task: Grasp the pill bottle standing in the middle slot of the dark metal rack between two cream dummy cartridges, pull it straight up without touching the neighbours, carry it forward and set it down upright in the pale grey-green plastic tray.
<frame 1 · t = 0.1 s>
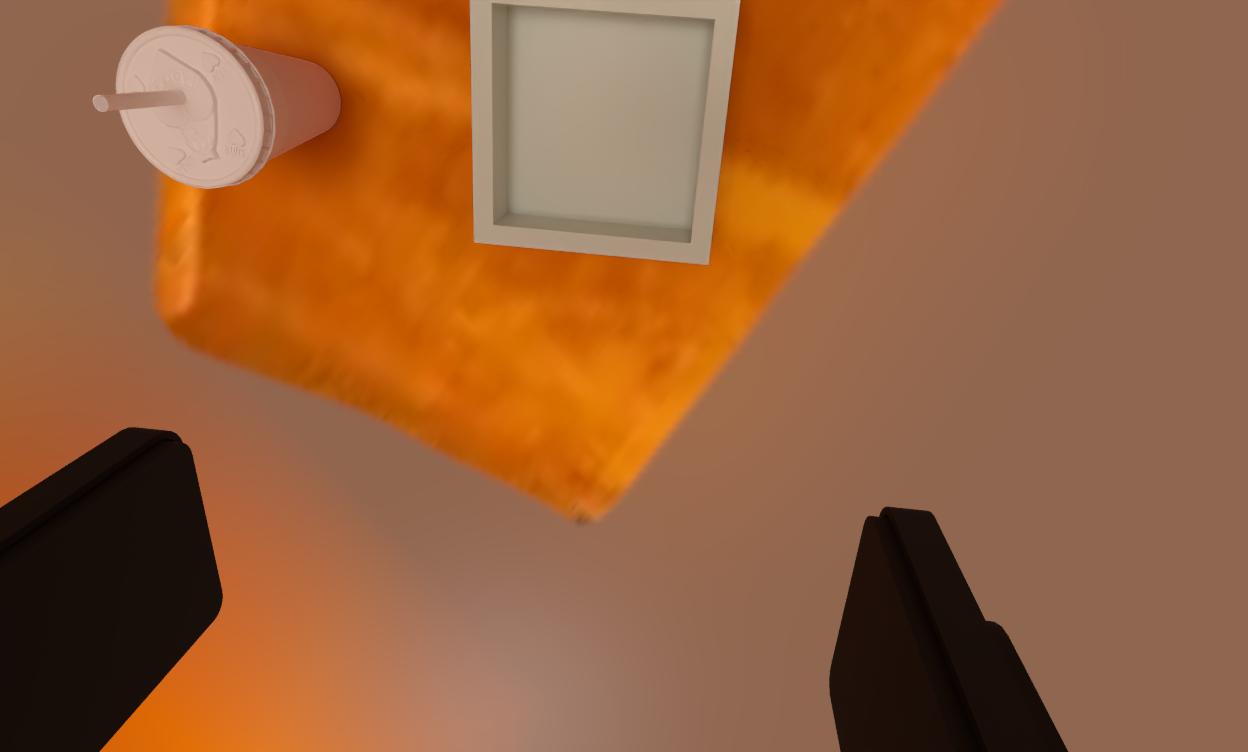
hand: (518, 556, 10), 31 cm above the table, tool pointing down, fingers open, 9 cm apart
smoothie: (309, 97, 39), on the table
tray: (605, 122, 37), on the table
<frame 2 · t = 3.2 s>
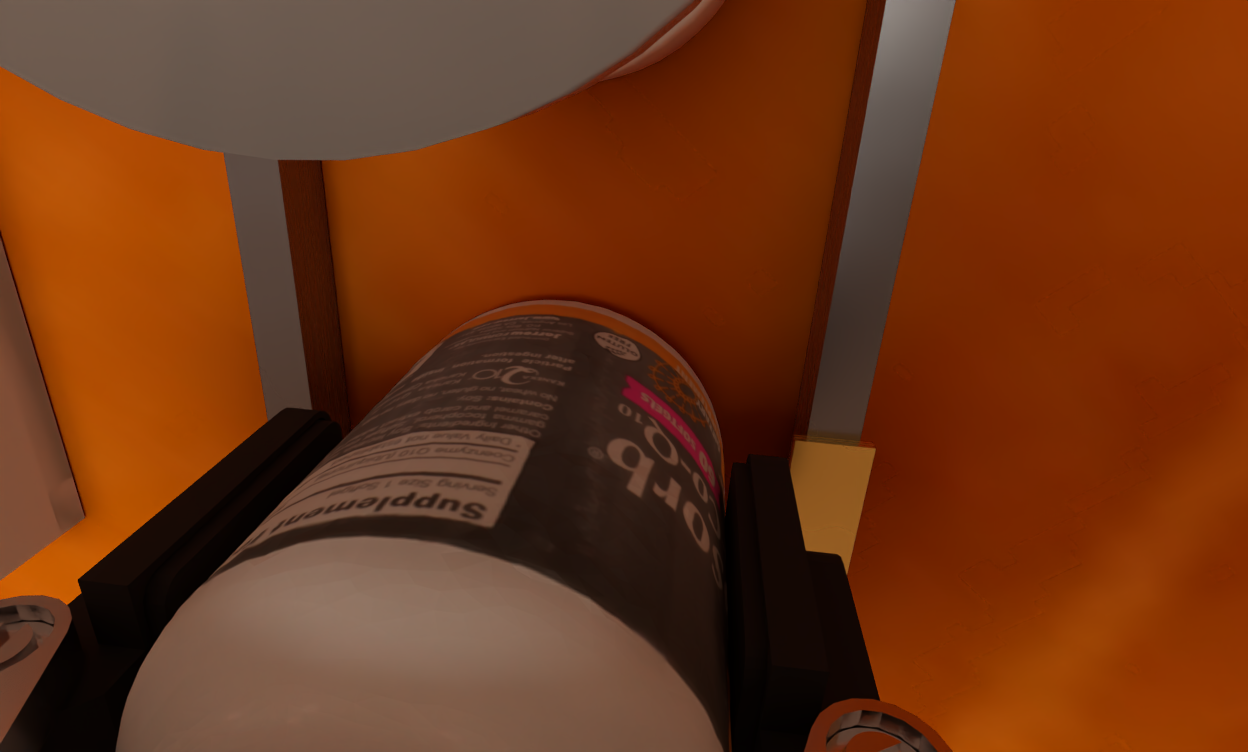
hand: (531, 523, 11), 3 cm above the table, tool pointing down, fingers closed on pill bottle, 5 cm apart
pill bottle: (565, 434, 13), resting in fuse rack, touching gripper
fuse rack: (563, 439, 13), on the table
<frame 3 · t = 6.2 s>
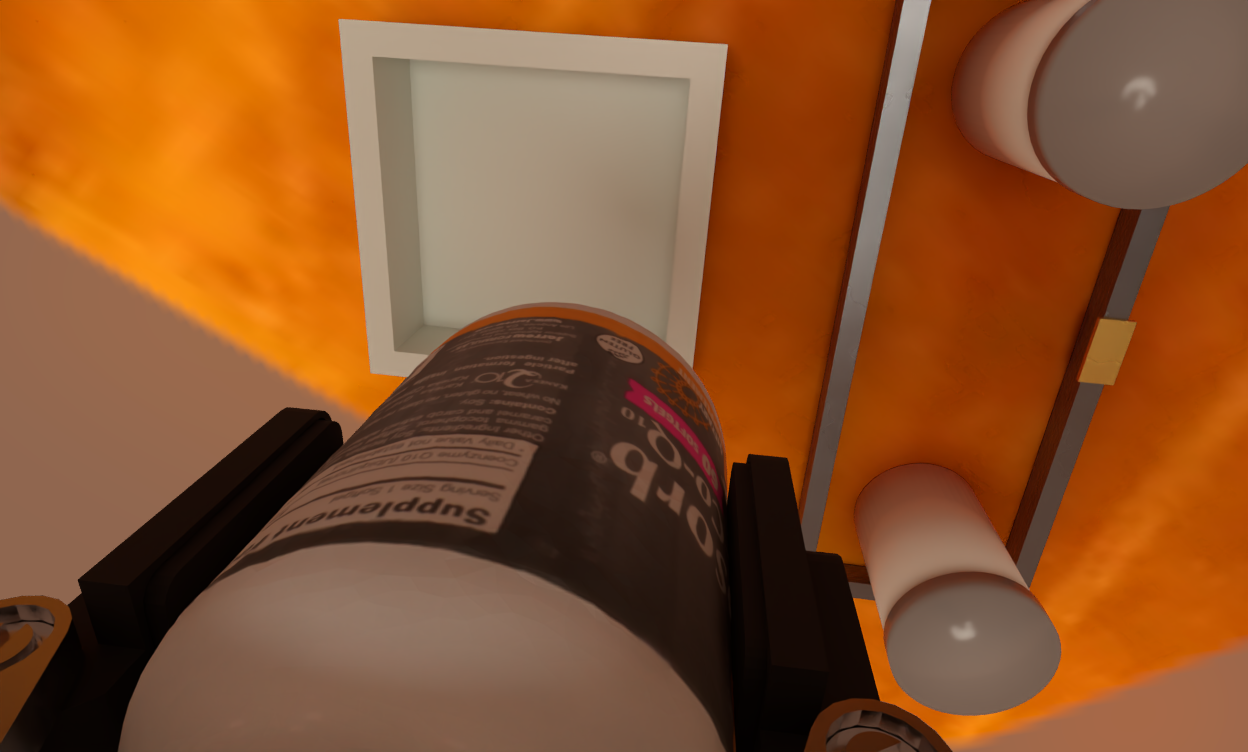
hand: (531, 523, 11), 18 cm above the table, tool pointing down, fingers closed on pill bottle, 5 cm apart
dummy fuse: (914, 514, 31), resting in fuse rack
pill bottle: (566, 436, 13), point 16 cm above the table, touching gripper
tray: (550, 209, 27), on the table
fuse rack: (966, 326, 27), on the table
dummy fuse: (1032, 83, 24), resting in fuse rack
when the fingers open (5 cm above the table, at t = 9.4 s): pill bottle drops 1 cm, resting on tray.
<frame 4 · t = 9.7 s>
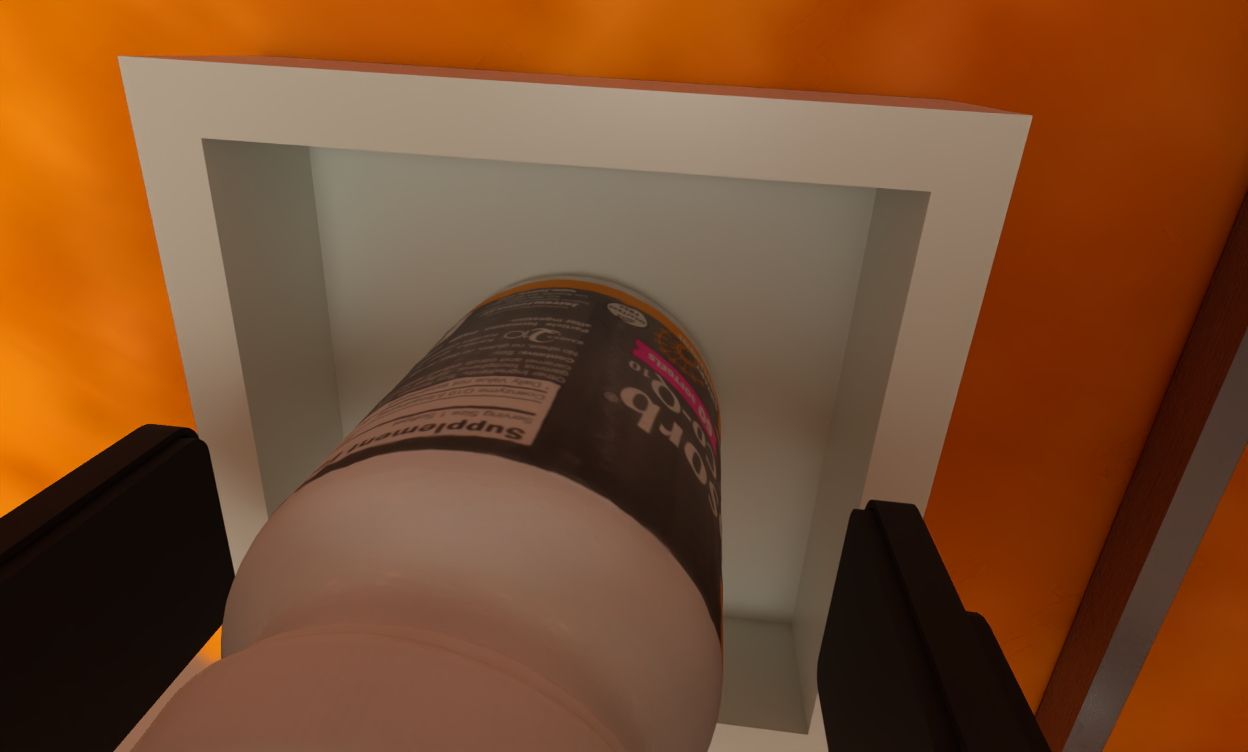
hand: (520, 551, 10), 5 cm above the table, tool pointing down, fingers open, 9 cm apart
pill bottle: (577, 399, 15), resting on tray
tray: (581, 389, 15), on the table
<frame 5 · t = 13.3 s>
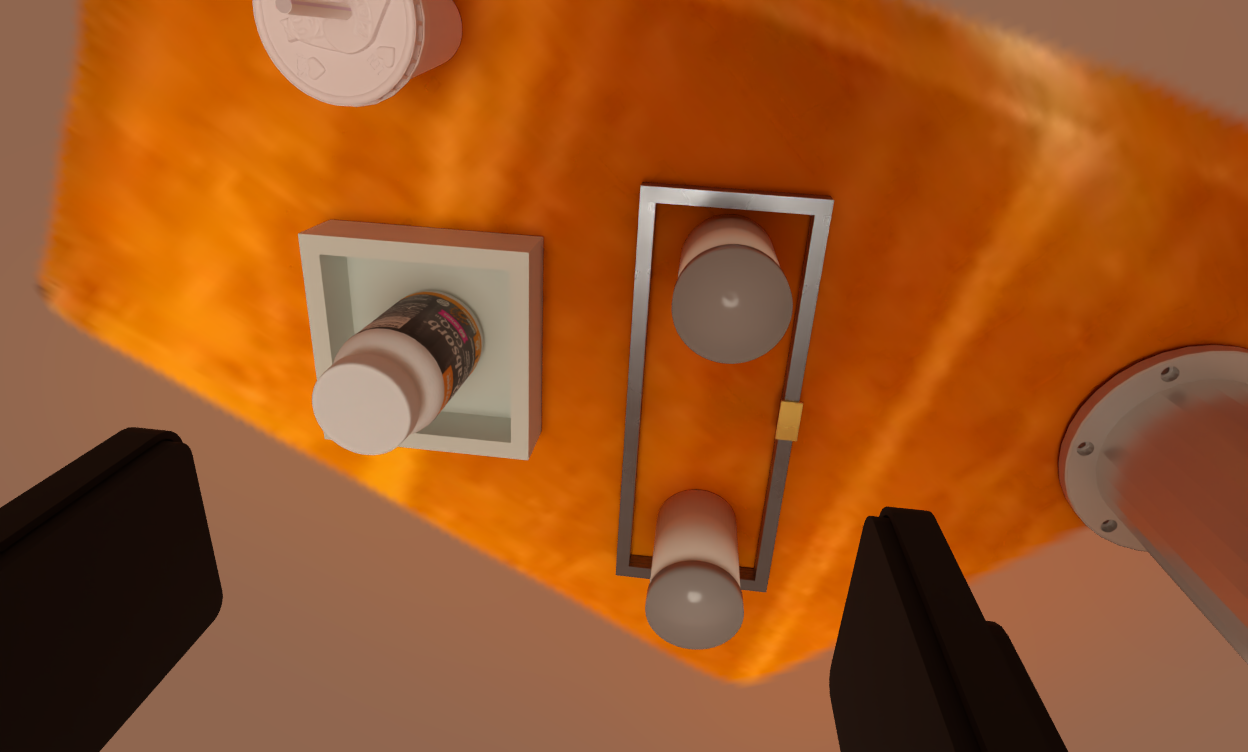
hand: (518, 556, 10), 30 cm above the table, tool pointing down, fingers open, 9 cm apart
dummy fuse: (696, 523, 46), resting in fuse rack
smoothie: (426, 26, 36), on the table
pill bottle: (438, 333, 42), resting on tray
tray: (441, 330, 42), on the table
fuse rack: (710, 403, 42), on the table
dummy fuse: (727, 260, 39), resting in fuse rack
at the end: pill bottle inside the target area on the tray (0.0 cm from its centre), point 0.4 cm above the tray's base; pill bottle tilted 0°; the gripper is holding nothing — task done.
